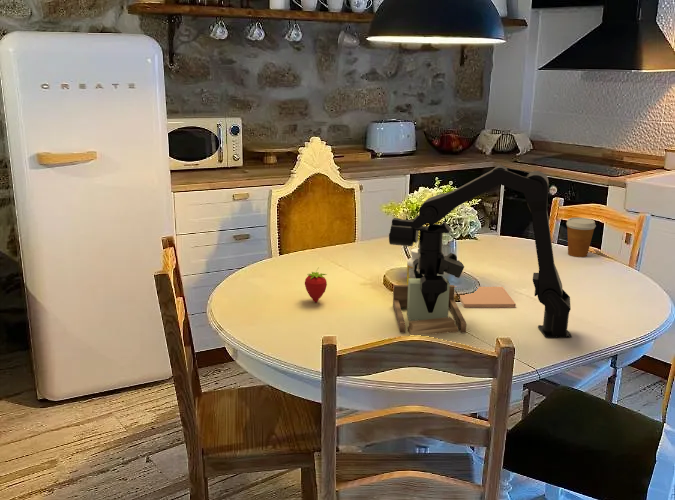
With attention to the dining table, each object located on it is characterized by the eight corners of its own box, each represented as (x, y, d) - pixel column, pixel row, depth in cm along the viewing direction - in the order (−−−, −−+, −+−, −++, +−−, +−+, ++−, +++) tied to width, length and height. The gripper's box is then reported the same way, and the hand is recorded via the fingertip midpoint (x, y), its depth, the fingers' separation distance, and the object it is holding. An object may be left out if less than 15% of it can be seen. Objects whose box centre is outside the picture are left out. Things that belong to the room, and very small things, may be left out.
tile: (515, 307, 182) (515, 304, 182) (463, 307, 182) (464, 304, 182) (502, 290, 195) (502, 286, 195) (454, 289, 195) (454, 286, 195)
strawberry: (322, 296, 189) (322, 262, 186) (330, 305, 182) (330, 270, 180) (301, 298, 187) (301, 264, 185) (309, 307, 181) (309, 272, 178)
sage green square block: (447, 320, 173) (449, 283, 170) (408, 320, 173) (410, 283, 170) (444, 314, 177) (446, 278, 174) (406, 314, 177) (408, 278, 174)
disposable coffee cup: (557, 251, 234) (560, 218, 230) (580, 249, 236) (584, 216, 233) (574, 259, 225) (578, 224, 222) (598, 257, 228) (602, 223, 224)
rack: (465, 332, 165) (467, 309, 164) (400, 332, 165) (400, 309, 163) (452, 305, 183) (453, 285, 181) (392, 305, 182) (393, 284, 181)
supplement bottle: (414, 287, 197) (416, 245, 193) (434, 293, 193) (436, 249, 189) (401, 293, 192) (403, 250, 188) (421, 299, 188) (423, 255, 184)
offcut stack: (458, 333, 166) (458, 322, 165) (411, 337, 163) (412, 325, 162) (452, 327, 169) (453, 316, 168) (407, 331, 167) (407, 320, 166)
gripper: (470, 258, 161) (466, 319, 165) (455, 238, 179) (452, 293, 183) (423, 258, 161) (420, 319, 165) (413, 238, 178) (411, 293, 183)
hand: (427, 305), depth 174 cm, fingers open, 9 cm apart
